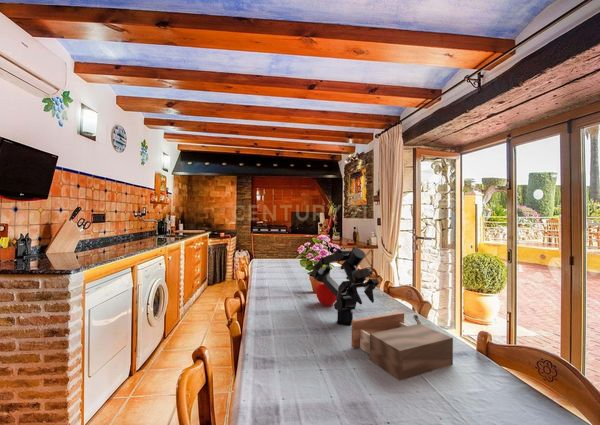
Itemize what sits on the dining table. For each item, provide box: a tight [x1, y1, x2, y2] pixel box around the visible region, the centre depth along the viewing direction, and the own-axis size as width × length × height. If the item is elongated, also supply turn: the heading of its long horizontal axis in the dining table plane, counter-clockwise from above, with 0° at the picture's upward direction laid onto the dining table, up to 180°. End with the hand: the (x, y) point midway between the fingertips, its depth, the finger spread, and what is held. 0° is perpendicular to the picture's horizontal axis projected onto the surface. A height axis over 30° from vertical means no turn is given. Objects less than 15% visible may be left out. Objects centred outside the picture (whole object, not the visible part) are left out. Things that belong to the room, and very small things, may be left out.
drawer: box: [351, 311, 409, 356], centre depth 107 cm, size 14×25×10 cm, turn 115°
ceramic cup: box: [315, 283, 337, 307], centre depth 161 cm, size 13×17×10 cm
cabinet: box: [369, 323, 454, 381], centre depth 98 cm, size 14×24×9 cm, turn 115°
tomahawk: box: [413, 314, 422, 324], centre depth 134 cm, size 21×7×1 cm, turn 166°
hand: (367, 303), depth 120 cm, fingers open, 6 cm apart
